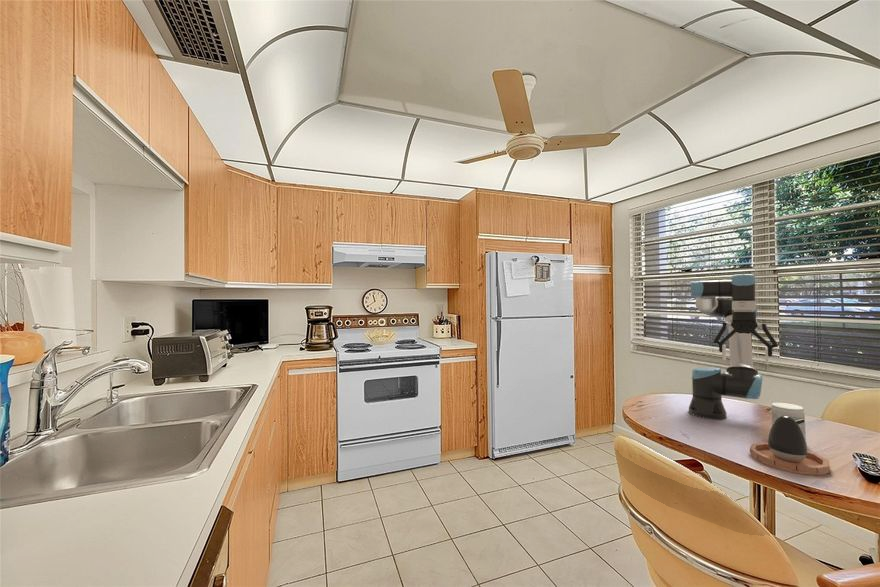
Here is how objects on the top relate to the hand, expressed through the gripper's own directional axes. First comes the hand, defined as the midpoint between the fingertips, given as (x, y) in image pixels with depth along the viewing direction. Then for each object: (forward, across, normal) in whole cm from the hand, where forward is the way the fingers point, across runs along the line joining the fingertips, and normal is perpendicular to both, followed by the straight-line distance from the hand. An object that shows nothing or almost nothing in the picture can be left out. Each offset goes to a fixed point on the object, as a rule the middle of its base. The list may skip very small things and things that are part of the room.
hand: (744, 362), depth 146 cm
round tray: (+32, +13, -16) cm, 38 cm away
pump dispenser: (+31, +13, -16) cm, 37 cm away
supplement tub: (+32, +12, +7) cm, 35 cm away
